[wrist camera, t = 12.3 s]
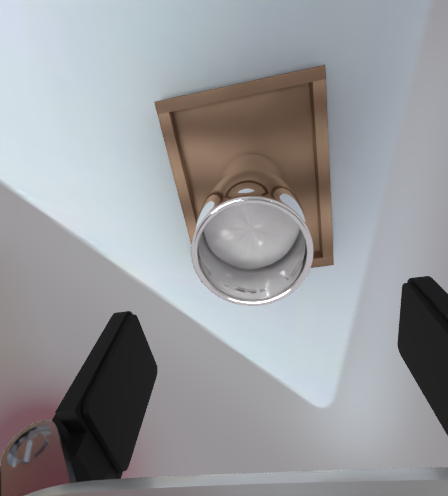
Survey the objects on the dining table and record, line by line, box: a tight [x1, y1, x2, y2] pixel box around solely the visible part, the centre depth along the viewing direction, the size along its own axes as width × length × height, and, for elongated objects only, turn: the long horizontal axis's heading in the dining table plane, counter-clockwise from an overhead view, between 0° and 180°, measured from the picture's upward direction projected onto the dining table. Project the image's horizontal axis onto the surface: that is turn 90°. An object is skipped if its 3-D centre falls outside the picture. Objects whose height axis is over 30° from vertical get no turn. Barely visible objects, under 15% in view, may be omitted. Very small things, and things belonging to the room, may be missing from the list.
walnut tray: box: [154, 65, 334, 282], centre depth 30 cm, size 18×14×2 cm
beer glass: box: [191, 154, 313, 306], centre depth 23 cm, size 7×7×15 cm
